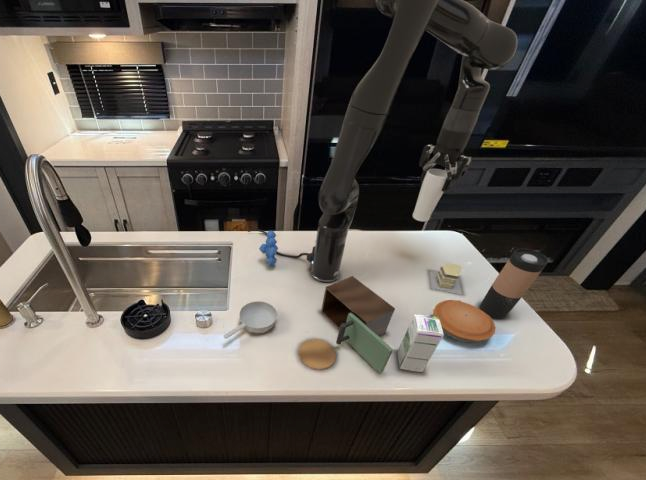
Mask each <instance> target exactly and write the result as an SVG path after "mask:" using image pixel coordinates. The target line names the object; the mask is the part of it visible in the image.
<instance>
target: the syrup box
mask: <svg viewBox="0 0 646 480" xmlns="http://www.w3.org/2000/svg"><path fill="white" fill-rule="evenodd" d="M444 335H445V334H444V333H443V330H442V327H441V323H440V320H439V317H434V315H427V314H415V313H414V314H413V316H412V318H411V321H410V322H409V325H408V327H407V330H406V331H405V334H404V336H403V338H402V340H401V342H400V345H399V347H398V349H397V351H396V354H397V359H398V367H399V369H400V370H404V371H405V370H406V371H411V372H418V373H423V372H424V370H425V368H426V367H427V365H428V363H429V361H430V360H431V358H432V357H433V355H434V353H435V351H436V349H437V348H438V346H439V344H440V343H441V341H442V340H443V337H444Z"/></svg>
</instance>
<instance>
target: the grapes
mask: <svg viewBox="0 0 646 480" xmlns="http://www.w3.org/2000/svg"><path fill="white" fill-rule="evenodd" d="M265 235H266V237H267V238H266V240H265V242H264V243H262V244H261V245H260V246H259V248H258V249H259V251H260V252H261V253H262V254H265V256H266V260H267V261H266V264H267V265H268V266H269V267H270V268H272V267H274V266H275V265H276V264H277V261H278V259H277V257H276V255H277V254H276V253H277V252H278V249H279V247H278V246H277V242H278V241H277V240H276V236H277V234H276V233H275V232H274V230H271V229H270V230H268V231H267V234H265Z"/></svg>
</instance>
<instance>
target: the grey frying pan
mask: <svg viewBox="0 0 646 480" xmlns="http://www.w3.org/2000/svg"><path fill="white" fill-rule="evenodd" d="M277 319H278V312H277V310H276V307H274V306H273V305H272V304H271V303H268V302H266V301H261V300H260V301H251V302H248V303H246V304H244V305H243V306H242V307H241V308H240V310H239V320H240V323H241V324H239V325H238V326H236V327H234V328H233V329H231V330H230V331H228V332H227V333H225V334H224V335H223V338H224V339H229V338H230V337H232V336H233V335H235V334H236V333H238V332H240V331H241V330H242V329H244V328H245V330H247V331H248V332H250V333H252V334H264V333H265V334H266V332H269V331H270V330H271V329H272V328H273V327H274V326H275V325H276V323H277Z"/></svg>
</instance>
